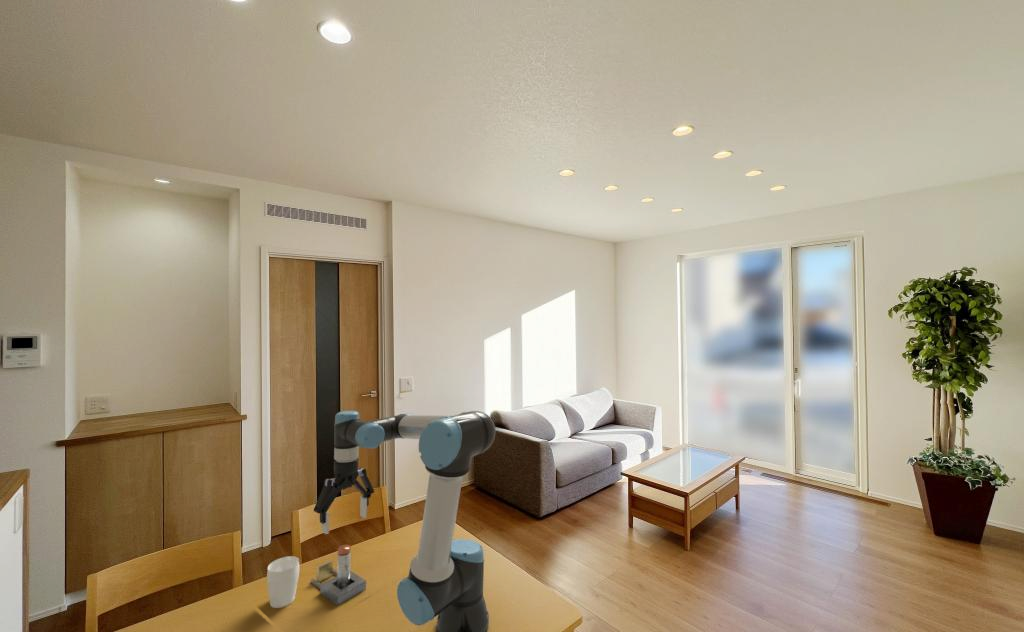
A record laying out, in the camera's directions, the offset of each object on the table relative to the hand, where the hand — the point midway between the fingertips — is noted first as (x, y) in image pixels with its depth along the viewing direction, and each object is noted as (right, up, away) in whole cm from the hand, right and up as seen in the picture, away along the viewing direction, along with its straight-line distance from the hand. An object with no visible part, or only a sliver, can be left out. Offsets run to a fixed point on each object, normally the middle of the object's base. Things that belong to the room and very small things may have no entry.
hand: (345, 524), depth 134 cm
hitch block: (-3, -22, +3) cm, 23 cm away
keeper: (-10, -22, +6) cm, 24 cm away
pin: (0, -22, -1) cm, 22 cm away
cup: (-17, -22, -5) cm, 29 cm away
